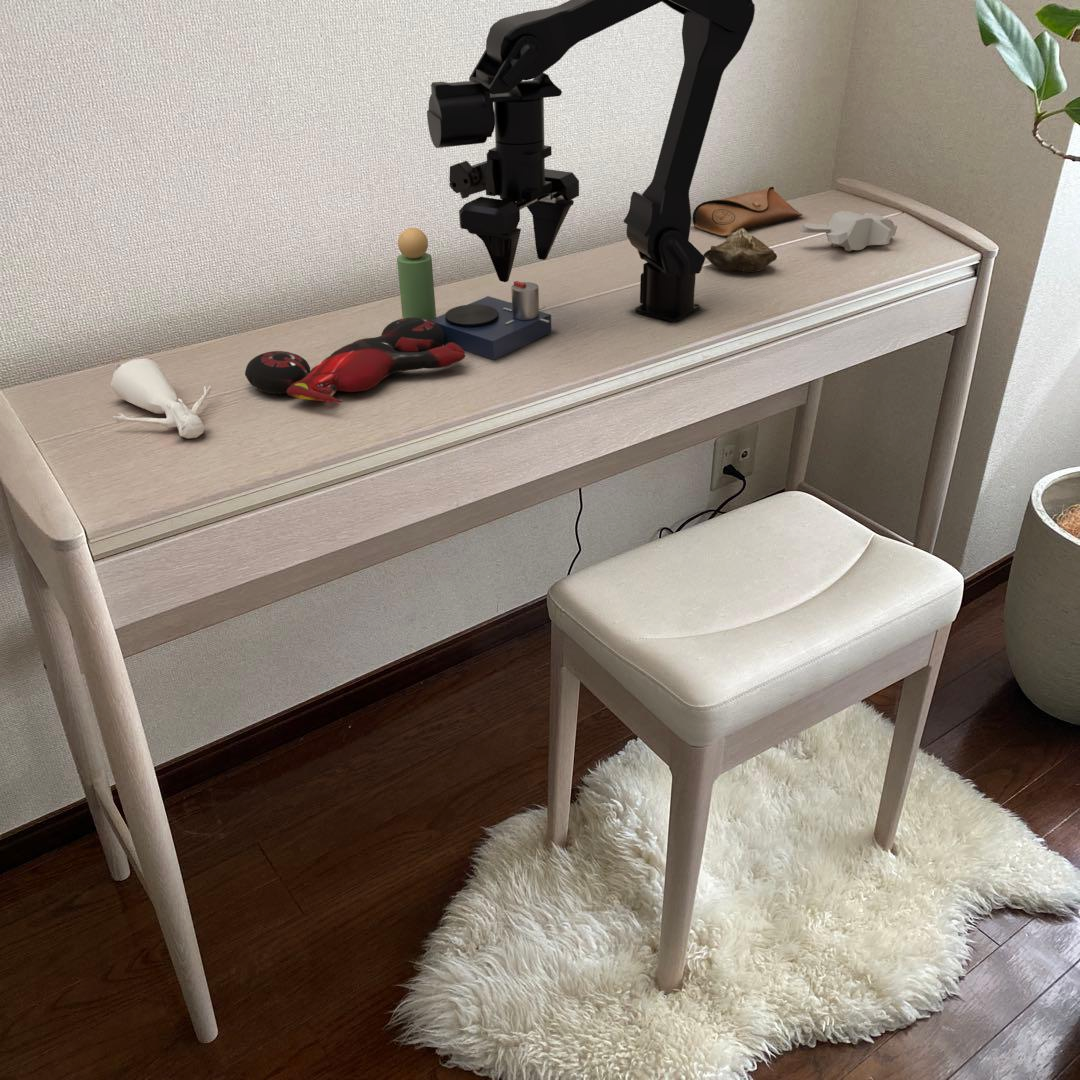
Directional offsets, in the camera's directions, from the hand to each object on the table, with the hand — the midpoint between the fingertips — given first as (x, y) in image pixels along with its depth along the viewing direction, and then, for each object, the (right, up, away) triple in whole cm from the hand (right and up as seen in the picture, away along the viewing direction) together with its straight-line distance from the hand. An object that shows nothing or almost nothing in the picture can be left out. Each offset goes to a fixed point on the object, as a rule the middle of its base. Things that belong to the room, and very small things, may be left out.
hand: (523, 270), depth 132 cm
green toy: (-14, -5, +8) cm, 17 cm away
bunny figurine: (+50, +11, +31) cm, 60 cm away
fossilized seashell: (+31, +6, +24) cm, 40 cm away
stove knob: (0, -5, +3) cm, 6 cm away
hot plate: (-3, -7, +4) cm, 9 cm away
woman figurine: (-40, -20, -12) cm, 46 cm away
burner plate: (-7, -5, +3) cm, 9 cm away
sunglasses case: (+36, +19, +43) cm, 59 cm away
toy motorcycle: (-19, -15, -6) cm, 25 cm away
